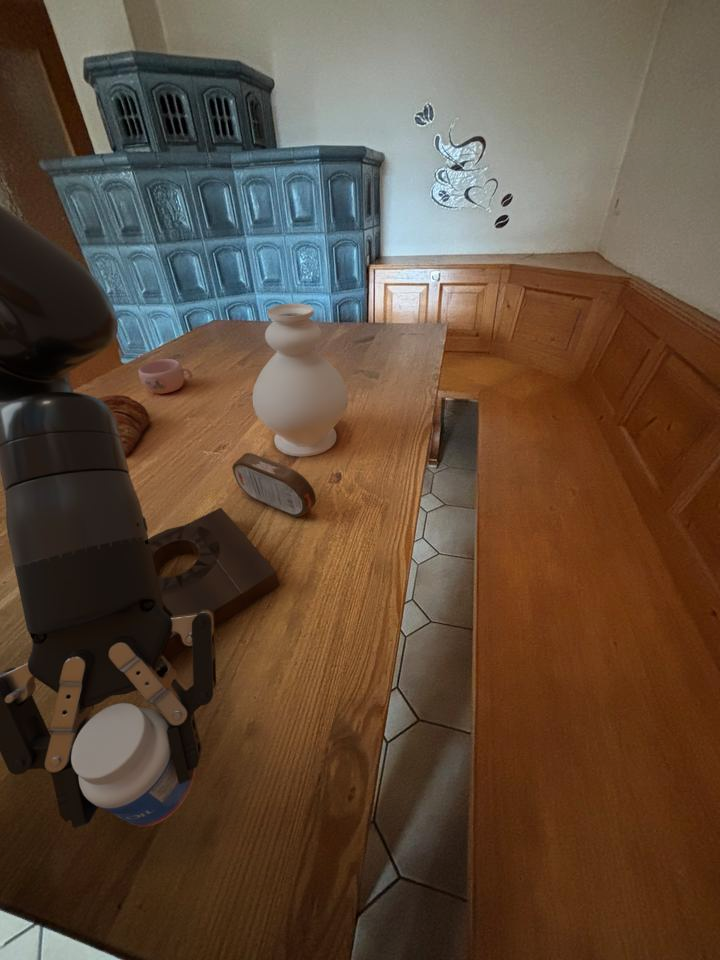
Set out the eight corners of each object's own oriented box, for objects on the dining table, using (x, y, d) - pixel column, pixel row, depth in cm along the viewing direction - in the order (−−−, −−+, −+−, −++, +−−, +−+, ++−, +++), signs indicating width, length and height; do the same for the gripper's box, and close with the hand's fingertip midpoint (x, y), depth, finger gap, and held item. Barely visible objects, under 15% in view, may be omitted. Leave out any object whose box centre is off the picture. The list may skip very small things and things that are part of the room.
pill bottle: (104, 815, 28) (30, 777, 22) (152, 732, 32) (101, 680, 26) (170, 839, 27) (113, 807, 21) (211, 751, 31) (173, 701, 25)
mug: (140, 399, 92) (131, 376, 89) (151, 381, 100) (143, 359, 96) (192, 395, 94) (185, 372, 90) (199, 378, 101) (192, 356, 98)
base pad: (138, 678, 42) (127, 665, 40) (98, 581, 52) (88, 567, 50) (279, 585, 51) (276, 571, 49) (222, 518, 61) (218, 504, 59)
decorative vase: (366, 432, 80) (365, 304, 64) (311, 476, 69) (294, 335, 53) (301, 409, 88) (287, 290, 72) (242, 445, 77) (210, 314, 61)
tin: (318, 514, 61) (314, 473, 56) (307, 527, 59) (301, 485, 54) (248, 484, 67) (238, 444, 62) (235, 494, 65) (224, 454, 60)
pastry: (177, 421, 84) (165, 387, 79) (124, 461, 73) (106, 424, 68) (116, 410, 88) (100, 377, 83) (57, 446, 77) (35, 411, 72)
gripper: (-94, 585, 21) (-34, 907, 20) (186, 517, 25) (248, 782, 24) (-3, 572, 28) (44, 807, 27) (202, 521, 32) (250, 724, 31)
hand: (139, 794), depth 25 cm, fingers closed on pill bottle, 5 cm apart
